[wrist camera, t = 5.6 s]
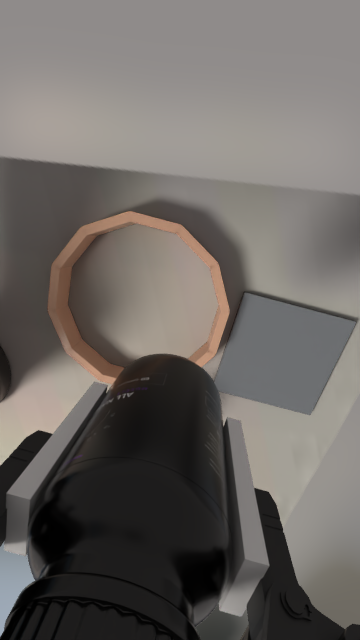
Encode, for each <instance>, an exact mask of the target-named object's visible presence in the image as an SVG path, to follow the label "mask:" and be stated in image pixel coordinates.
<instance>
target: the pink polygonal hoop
mask: <svg viewBox="0 0 360 640" xmlns="http://www.w3.org/2000/svg"><path fill="white" fill-rule="evenodd" d="M136 223H138V224H142V225H145V226H149V227H153V228H157V229H160V230H164V231H168V232H172V233H175V234H177V235H178V236H179V237H180V238H181V239H182V240H183V241H184V242H185V243H186V244H187V245H188V246H189V247H190V248H191V249H192V250H193V251H194V252H195V253H196V254H197V255H198V256H199V257H200V258H201V259H202V260H203V261H204V262H205V263H206V264H207V265H208V266H209V267H210V271H211V276H212V280H213V284H214V288H215V292H216V296H217V300H218V304H219V306H218V309H217V312H216V316H215V319H214V322H213V325H212V329H211V332H210V335H209V338H208V341H207V342H206V343H205V344H204V345H203V346H202V347H201V348H200V349H198V350H197V351H196V352H195V353H194V354H193V355H192V356H191V357H189V358H188V359H189V360H191V361H192V362H194V363H196V364H197V365H199V366H200V367H202V366H203V365H204V364H206V363H207V362H208V361H209V360H210V359H211V358H213V357H214V356H215V354H216V352H217V349H218V346H219V343H220V340H221V337H222V334H223V331H224V328H225V325H226V322H227V319H228V316H229V313H230V312H229V311H230V310H229V306H228V301H227V297H226V293H225V289H224V284H223V280H222V276H221V272H220V267H219V264H218V262H217V261H216V260H215V259H214V258H213V257H212V256H211V255H210V254H209V253H208V252H207V250H206V249H205V248H204V247H203V246H202V245H201V244H200V243H199V242H198V241H197V240H196V239H195V238H194V237H193V236H192V235H191V234H190V233H189V232H188V231H187V230H186V229H185V228H184V227H183V226H182V225H181V224H177V223H173V222H169V221H166V220H162V219H158V218H154V217H151V216H147V215H143V214H139V213H136V212H132V211H127V212H124V213H121V214H118V215H115V216H112V217H109V218H106V219H103V220H100V221H97V222H93V223H90V224H87V225H84V226H82V227H80V228H79V230H78V231H77V232H76V234H75V235H74V236H73V237H72V239H71V240H70V241H69V243H68V244H67V245H66V246H65V248H64V249H63V250H62V252H61V253H60V254H59V255H58V257H57V258H56V259H55V261H54V262H53V263H52V265H51V275H50V286H49V296H48V307H47V310H49V311H48V314H49V316H50V318H51V320H52V323H53V325H54V327H55V329H56V332H57V334H58V336H59V339H60V341H61V343H62V345H63V348H64V350H65V352H66V351H67V352H66V353H67V354H68V355H69V356H71V357H72V358H73V359H74V360H75V361H77V362H78V363H79V364H80V365H81V366H83V367H84V368H85V369H86V370H87V371H88V372H90V373H91V374H92V375H93V376H94V377H96V378H97V379H98V380H100V381H102V382H106V383H110V384H113V383H114V381H115V380H116V378H117V377H118V375H119V374H120V373H121V372H122V371H123V369H125V368H124V367H120V366H116V365H112V364H110V363H109V362H108V361H106V360H105V359H104V358H103V357H102V356H101V355H99V354H98V353H97V352H96V351H95V350H94V349H92V348H91V347H90V346H89V345H88V344H87V343H85V342H84V341H83V340H82V338H81V336H80V333H79V331H78V328H77V326H76V324H75V321H74V319H73V316H72V314H71V311H70V309H69V307H68V298H69V289H70V281H71V272H72V266H73V265H74V264H75V262H76V261H77V260H78V259H79V257H80V256H81V255H82V254H83V252H84V251H85V250H86V249H87V248H88V246H89V245H90V244H91V243H92V241H93V240H94V239H95V238H96V236H98V235H101V234H104V233H107V232H111V231H114V230H117V229H120V228H123V227H126V226H130V225H133V224H136Z"/></svg>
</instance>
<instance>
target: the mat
mask: <svg viewBox="0 0 360 640" xmlns="http://www.w3.org/2000/svg"><path fill="white" fill-rule="evenodd" d="M355 324H356V322H355V321H353V320H349V319H345V318H342V317H338V316H334V315H330V314H327V313H323V312H319V311H315V310H311V309H308V308H304V307H300V306H296V305H293V304H289V303H285V302H281V301H278V300H274V299H270V298H266V297H262V296H259V295H255V294H251V293H247V292H244V294H243V297H242V300H241V303H240V306H239V309H238V312H237V314H236V317H235V320H234V323H233V326H232V329H231V332H230V335H229V338H228V341H227V344H226V347H225V350H224V353H223V356H222V359H221V362H220V365H219V368H218V371H217V374H216V377H215V380H214V383H215V385H216V387H217V389H218V391H219V392H223V393H227V394H231V395H235V396H238V397H242V398H246V399H250V400H254V401H258V402H261V403H265V404H269V405H273V406H277V407H280V408H284V409H288V410H292V411H296V412H300V413H303V414H307V415H311V413H312V411H313V409H314V406H315V404H316V402H317V400H318V398H319V396H320V394H321V392H322V390H323V388H324V386H325V384H326V382H327V380H328V378H329V376H330V374H331V372H332V370H333V368H334V366H335V364H336V362H337V360H338V358H339V356H340V354H341V352H342V350H343V348H344V346H345V344H346V342H347V340H348V338H349V336H350V334H351V332H352V330H353V328H354V326H355Z"/></svg>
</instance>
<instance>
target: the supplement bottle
mask: <svg viewBox="0 0 360 640" xmlns="http://www.w3.org/2000/svg"><path fill="white" fill-rule="evenodd" d="M27 555H28V561H29V565H30V568H31V572H32V574H33V577H34V579H35V581H34V582H32V583H31V584H29V585H28V586H27V587H25V588H24V590H23V591H22V592H21V593H20V595H19V596H18V599H17V600H16V602H15V604H14V606H13V608H12V610H11V612H10V614H9V616H8V618H7V619H6V623H5V627H4V632H3V633H2V635H1V637H0V640H201V638H200V635H199V633H198V631H197V629H196V628H195V627H196V626H197V625H199V624H200V623H201V622H203V621H204V620H205V619H206V618H207V617H208V616H209V615H210V614H211V612H212V611H213V610H214V609H215V607H216V606H217V605H218V603H219V601H220V600H221V598H222V596H223V594H224V591H225V589H226V586H227V584H228V581H229V578H230V573H231V569H232V560H233V549H232V530H231V518H230V505H229V493H228V480H227V468H226V455H225V443H224V430H223V418H222V408H221V400H220V395H219V392H218V389H217V387H216V385H215V383H214V381H213V380H212V378H211V377H210V376H209V374H208V373H207V372H206V371H205V370H204V369H203V368H201V367H200V366H199V365H197V364H196V363H194V362H192V361H191V360H189V359H186V358H184V357H181V356H177V355H172V354H153V355H148V356H144V357H142V358H139V359H137V360H135V361H134V362H132V363H130V364H129V365H128V366H127V367H126V368H125V369H123V371H122V372H121V373H120V374H119V375H118V377H117V378H116V380H115V381H114V383H113V384H112V386H111V387H110V389H109V390H108V392H107V393H106V395H105V396H104V398H103V399H102V401H101V402H100V404H99V406H98V407H97V409H96V410H95V412H94V413H93V415H92V416H91V418H90V419H89V421H88V422H87V424H86V425H85V427H84V428H83V430H82V431H81V433H80V435H79V436H78V438H77V439H76V441H75V442H74V444H73V445H72V447H71V448H70V450H69V451H68V453H67V454H66V456H65V457H64V459H63V461H62V462H61V464H60V465H59V467H58V468H57V470H56V471H55V473H54V474H53V476H52V477H51V479H50V480H49V482H48V484H47V485H46V487H45V488H44V490H43V492H42V493H41V495H40V497H39V498H38V500H37V502H36V504H35V506H34V509H33V511H32V514H31V518H30V522H29V527H28V534H27Z"/></svg>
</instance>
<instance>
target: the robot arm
mask: <svg viewBox="0 0 360 640" xmlns="http://www.w3.org/2000/svg"><path fill="white" fill-rule="evenodd" d="M10 381H11V373H10V367H9V364H8V361H7V358H6V356H5V354H4V352H3V350H2V349H1V347H0V401H1V400H2V399H3V398H4V397H5V395H6V394H7V392H8V390H9V387H10ZM106 391H107V385H105V384H101V383H97V382H94V383H93V384H92V385H91V387H90V388H89V389H88V390H87V392H86V393H85V394H84V395H83V397H82V398H81V399H80V400H79V402H78V403H77V404H76V406H75V407H74V408H73V409H72V411H71V412H70V413H69V414H68V416H67V417H66V418H65V419H64V421H63V422H62V423H61V425H60V426H59V427H58V428H57V430H56V431H55V432H54V433H53V434H51V433H47V432H43V431H40V430H38V431H36V432H35V433H33V434H31V435H30V436H28V437H26V438H25V439H24V441H23V442H22V443H21V444H20V445H19V446H18V447H17V449H15V450H14V452H13V453H12V454H11V455H10V456H9V458H7V459H6V460H5V461H4V462H3V464H2V465H1V466H0V546H1V545H2V543H3V542H4V540H5V542H4V550H5V551H8V552H12V553H15V554H19V555H23V556H26V554H27V534H28V527H29V522H30V518H31V514H32V511H33V509H34V506H35V504H36V502H37V500H38V498H39V497H40V495H41V493H42V492H43V490H44V488H45V487H46V485H47V484H48V482H49V480H50V479H51V477H52V476H53V474H54V473H55V471H56V470H57V468H58V467H59V465H60V464H61V462H62V461H63V459H64V457H65V456H66V454H67V453H68V451H69V450H70V448H71V447H72V445H73V444H74V442H75V441H76V439H77V438H78V436H79V435H80V433H81V431H82V430H83V428H84V427H85V425H86V424H87V422H88V421H89V419H90V418H91V416H92V415H93V413H94V412H95V410H96V409H97V407H98V406H99V404H100V402H101V401H102V399H103V398H104V396H105V395H106ZM223 430H224V443H225V455H226V468H227V480H228V493H229V505H230V518H231V530H232V549H233V560H232V569H231V573H230V578H229V581H228V584H227V586H226V589H225V591H224V594H223V596H222V598H221V600H220V601H219V609H220V611H223V612H226V613H230V614H234V615H237V616H240V617H242V615H243V613H244V611H245V609H246V608H247V613H248V621H249V625H248V627H247V628H246V630H245V632H244V634H243V635H242V637H241V639H240V640H360V625H356V624H352V625H350V626H349V627H347V628H346V629H344V628H342V627H341V626H339V625H338V624H336V623H335V622H333V621H332V620H331V619H329V618H328V617H326V616H325V615H323V614H322V613H321V612H319V611H318V610H317V609H315V607H314V606H313V605H312V604H311V602H310V599H309V597H308V596H307V594H306V593H305V592H304V590H303V589H302V588H301V587H300V586H299V584H298V581H297V579H296V576H295V572H294V568H293V565H292V561H291V557H290V554H289V550H288V546H287V542H286V539H285V535H284V533H283V528H282V524H281V521H280V517H279V513H278V509H277V505H276V503H275V502H274V500H273V498H272V497H271V495H270V493H269V492H267V491H263V490H260V489H256V488H254V486H253V481H252V476H251V471H250V465H249V460H248V455H247V450H246V445H245V440H244V435H243V430H242V425H241V421H239V420H236V419H232V418H228V417H227V419H226V422H225V425H224V427H223Z"/></svg>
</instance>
